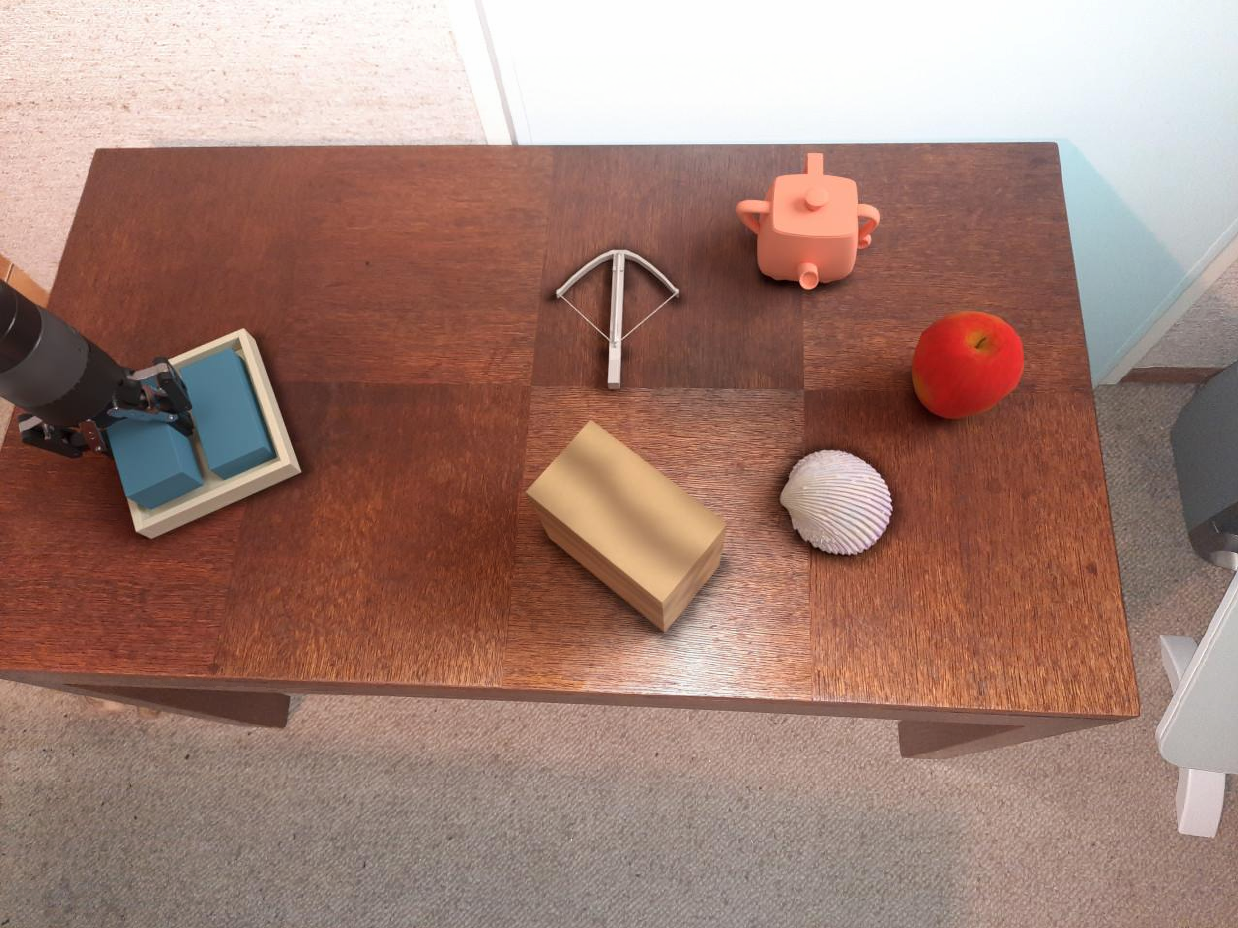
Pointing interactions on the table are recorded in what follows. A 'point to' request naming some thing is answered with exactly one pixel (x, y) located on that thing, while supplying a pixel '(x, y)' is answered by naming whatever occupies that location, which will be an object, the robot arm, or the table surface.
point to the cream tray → (215, 487)
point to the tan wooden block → (628, 524)
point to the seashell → (837, 502)
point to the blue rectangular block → (153, 461)
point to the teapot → (809, 226)
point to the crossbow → (616, 303)
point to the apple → (966, 364)
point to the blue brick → (227, 414)
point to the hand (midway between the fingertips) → (158, 440)
